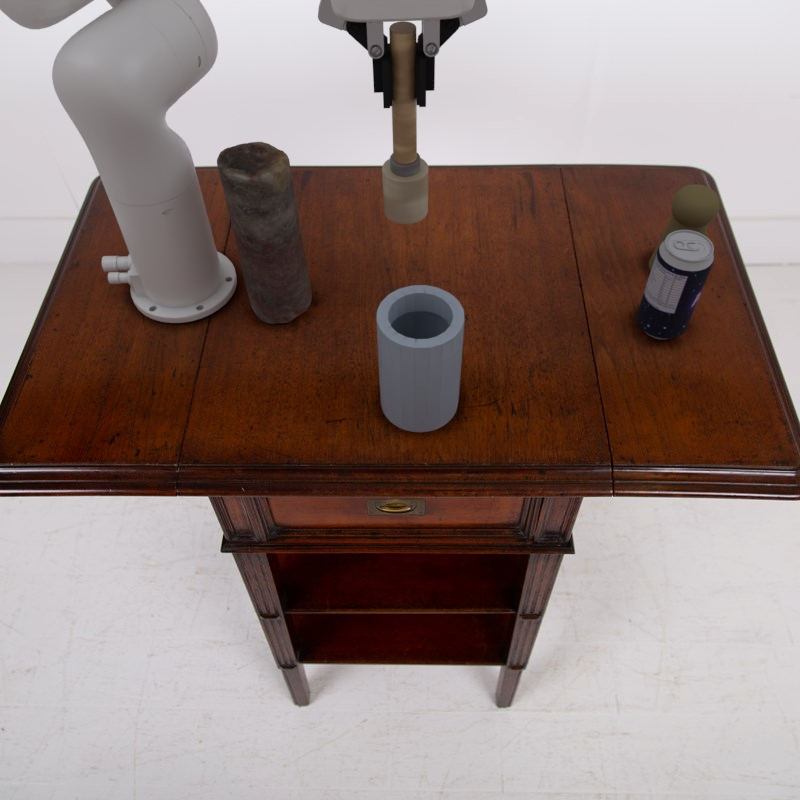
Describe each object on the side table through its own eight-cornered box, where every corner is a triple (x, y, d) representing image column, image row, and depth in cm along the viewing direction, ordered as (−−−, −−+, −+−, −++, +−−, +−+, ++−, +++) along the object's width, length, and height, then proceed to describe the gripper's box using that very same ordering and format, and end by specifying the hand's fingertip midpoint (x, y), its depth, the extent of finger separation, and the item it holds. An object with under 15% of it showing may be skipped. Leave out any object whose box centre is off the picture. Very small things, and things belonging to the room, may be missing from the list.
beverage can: (685, 347, 85) (719, 266, 76) (634, 340, 86) (661, 259, 76) (684, 312, 89) (716, 230, 79) (634, 305, 89) (660, 224, 80)
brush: (384, 225, 67) (376, 41, 55) (383, 197, 70) (375, 15, 57) (429, 223, 67) (431, 39, 55) (426, 196, 70) (428, 13, 57)
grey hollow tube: (380, 433, 78) (376, 348, 68) (381, 373, 83) (376, 285, 73) (460, 431, 78) (467, 346, 68) (455, 371, 83) (461, 284, 73)
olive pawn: (645, 277, 92) (669, 203, 84) (651, 246, 96) (675, 172, 87) (696, 288, 91) (726, 213, 82) (700, 256, 95) (729, 182, 86)
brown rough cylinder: (244, 290, 92) (209, 144, 76) (302, 275, 93) (280, 128, 78) (259, 332, 87) (225, 186, 72) (320, 316, 89) (300, 169, 73)
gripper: (262, -162, 43) (301, 128, 58) (539, -172, 43) (509, 121, 58) (272, -199, 48) (306, 78, 62) (522, -208, 48) (498, 71, 63)
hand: (404, 97), depth 60 cm, fingers closed on brush, 2 cm apart
